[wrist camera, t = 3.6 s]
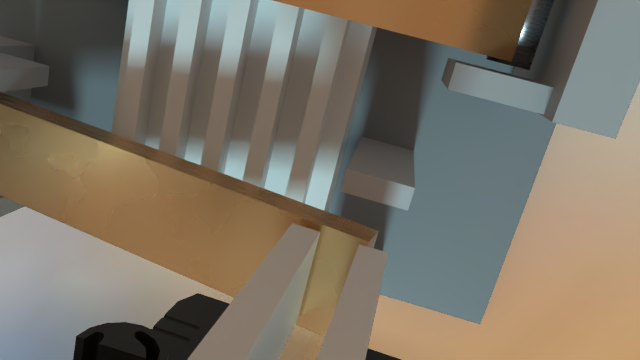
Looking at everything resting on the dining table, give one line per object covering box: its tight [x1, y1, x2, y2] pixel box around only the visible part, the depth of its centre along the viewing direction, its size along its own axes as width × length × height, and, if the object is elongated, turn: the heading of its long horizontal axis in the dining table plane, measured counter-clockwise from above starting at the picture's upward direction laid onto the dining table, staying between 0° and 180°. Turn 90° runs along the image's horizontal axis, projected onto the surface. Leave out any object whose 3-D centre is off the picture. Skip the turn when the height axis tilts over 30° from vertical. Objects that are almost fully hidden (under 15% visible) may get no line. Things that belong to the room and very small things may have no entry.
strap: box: [0, 92, 379, 337], centre depth 16 cm, size 15×3×1 cm, turn 76°
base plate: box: [0, 0, 640, 324], centre depth 18 cm, size 22×15×7 cm
